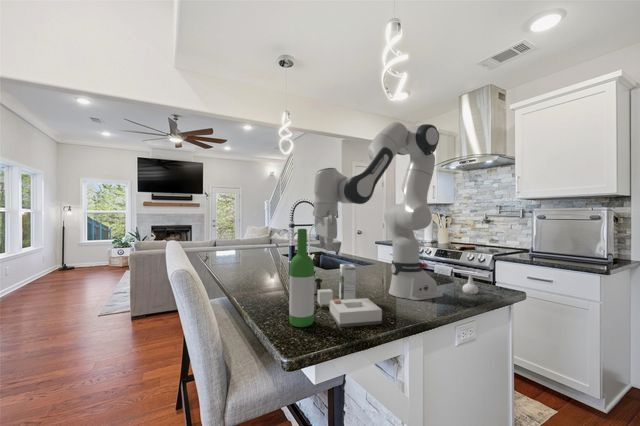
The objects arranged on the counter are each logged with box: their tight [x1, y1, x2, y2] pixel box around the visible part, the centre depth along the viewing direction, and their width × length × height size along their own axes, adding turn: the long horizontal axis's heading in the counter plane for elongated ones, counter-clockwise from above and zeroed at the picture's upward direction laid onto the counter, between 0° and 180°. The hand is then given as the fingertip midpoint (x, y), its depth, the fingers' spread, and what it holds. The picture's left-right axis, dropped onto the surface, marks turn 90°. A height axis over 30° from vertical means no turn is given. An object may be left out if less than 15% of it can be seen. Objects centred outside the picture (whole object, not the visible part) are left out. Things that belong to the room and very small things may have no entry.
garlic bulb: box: [462, 274, 479, 295], centre depth 126 cm, size 6×6×8 cm
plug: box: [316, 288, 334, 309], centre depth 106 cm, size 5×4×6 cm
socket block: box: [329, 297, 383, 328], centre depth 95 cm, size 14×12×5 cm
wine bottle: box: [288, 228, 315, 328], centre depth 90 cm, size 8×8×30 cm
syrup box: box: [338, 263, 357, 300], centre depth 112 cm, size 6×6×14 cm
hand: (325, 248), depth 106 cm, fingers open, 8 cm apart
